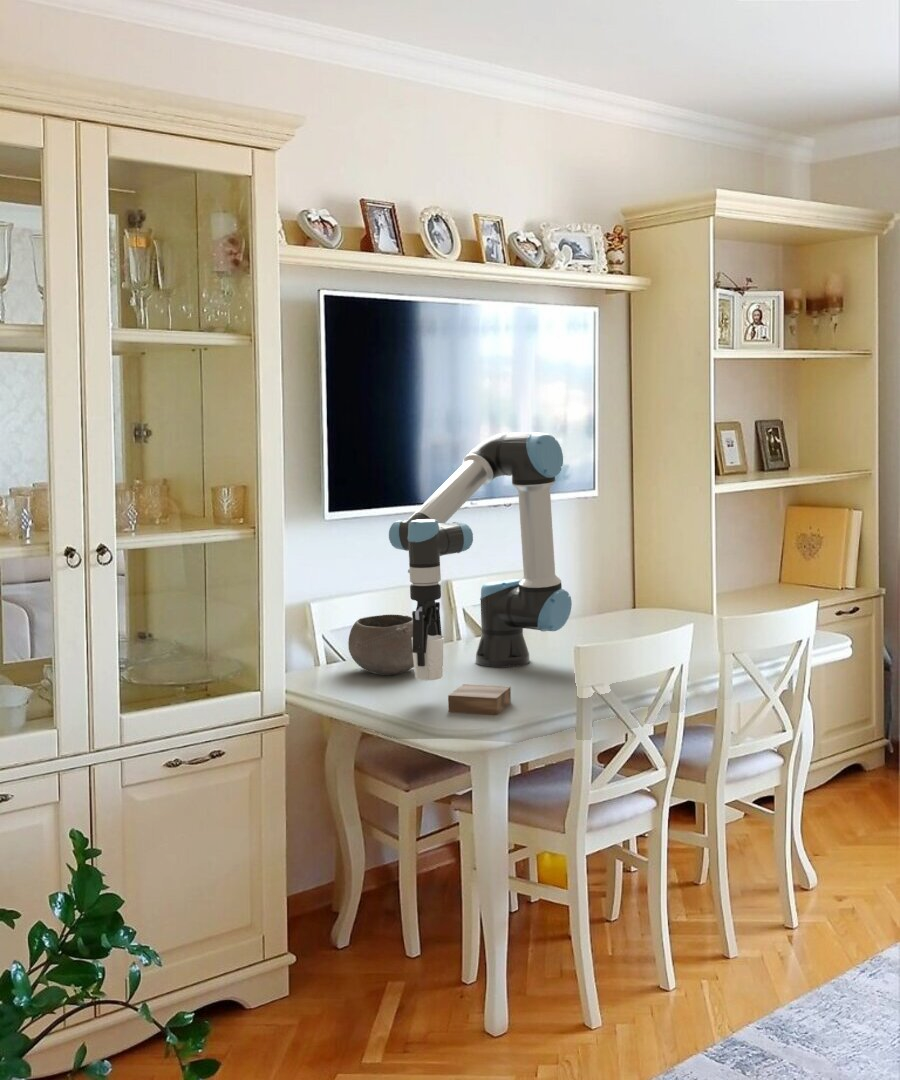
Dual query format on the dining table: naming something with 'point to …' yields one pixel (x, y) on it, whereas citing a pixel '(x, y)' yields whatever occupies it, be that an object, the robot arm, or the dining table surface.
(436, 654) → the white cup
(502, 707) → the walnut plinth
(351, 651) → the clay pot
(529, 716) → the dining table surface
